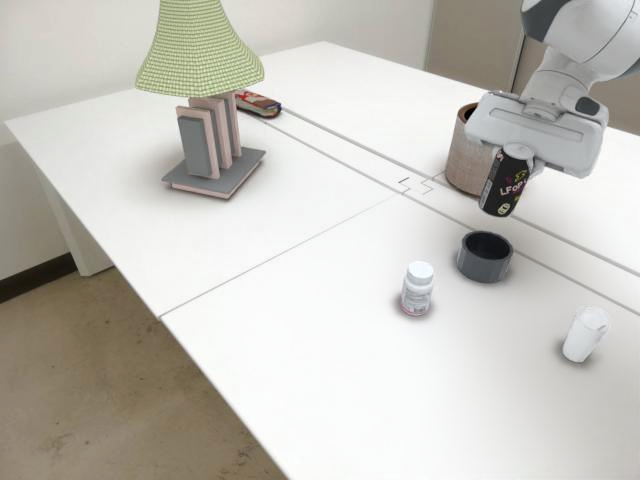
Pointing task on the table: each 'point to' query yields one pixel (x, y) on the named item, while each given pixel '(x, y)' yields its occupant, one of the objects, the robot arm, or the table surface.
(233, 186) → the desk lamp
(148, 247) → the table surface
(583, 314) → the milkshake
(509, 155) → the beverage can
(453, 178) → the planter
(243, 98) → the pencil case
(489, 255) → the can holder
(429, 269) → the pill bottle
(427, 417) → the table surface
